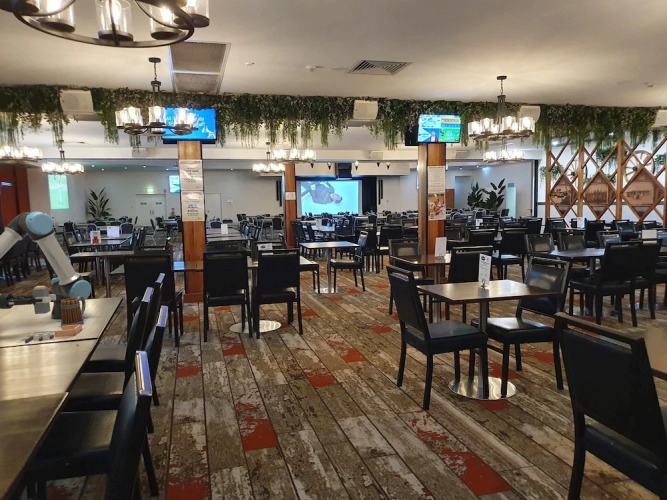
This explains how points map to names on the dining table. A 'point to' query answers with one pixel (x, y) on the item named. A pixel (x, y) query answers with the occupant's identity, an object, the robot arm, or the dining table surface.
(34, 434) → the dining table surface
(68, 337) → the board
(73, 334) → the end holder
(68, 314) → the mug
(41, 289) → the grey tall block
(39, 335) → the cable clips
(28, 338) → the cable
